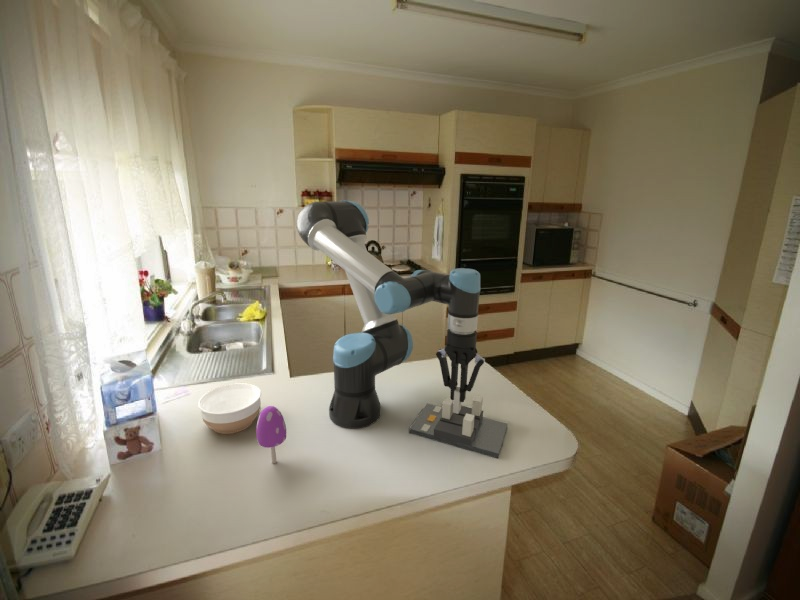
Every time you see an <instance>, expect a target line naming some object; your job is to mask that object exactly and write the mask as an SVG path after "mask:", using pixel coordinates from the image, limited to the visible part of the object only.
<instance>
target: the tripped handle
mask: <svg viewBox="0 0 800 600" xmlns="http://www.w3.org/2000/svg"><path fill="white" fill-rule="evenodd" d="M453 404H454V400H451V399H450V397H449V398H447V397H445V399H444V400H443V401H442V406H441V407H442V418H445V419H449V420H450V418H451V416H452V414H453Z"/></svg>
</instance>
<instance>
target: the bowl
mask: <svg viewBox="0 0 800 600" xmlns="http://www.w3.org/2000/svg"><path fill="white" fill-rule="evenodd" d="M261 396H262V391H261V389H260V388H259V387H258V386H256V385H254V384H251V383H245V382H244V383H243V382H241V383H240V382H237V383H230V384H225V385H221V386H218V387H215V388H213V389H211V390H209V391H207V392H206V393H204V394H203V395H202V396H201V397H200V399H199V400H198V403H197V406H198V409H199V410H200V417H201V418H202V420H203V421H202V422H204V424H205V425H206V426H207V427H209V428H210V429H212V430H213V431H214V432H215V433H218V434H222V435H223V434H224V435H226V434H227V435H228V434H234V433H238V432H239V433H240V432H241V431H243V430H245V429H248V428H249V427H250V426H251V425H252V424H253V422H254V420H255V419H256V418H257V416H258V414H259V412H260V411H261V404H262V401H261Z"/></svg>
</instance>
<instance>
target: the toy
mask: <svg viewBox="0 0 800 600" xmlns="http://www.w3.org/2000/svg"><path fill="white" fill-rule="evenodd" d="M255 429H256V432H255V433H256V440H257V441H256V442H257V443H258V445H259V446H261V447H263V448H267V449H269V448H270V455H271V458H270V459H271V464H277V462H278V461H277V454H276V453H277V452H276V447H277V446H279V445H281V444H282V443H284V441H286V439H287V426H286V422H285V418H284V416H283V414H282V412H281V411H280V410H279V409H278V408H277V407H275V406H273V405H269V406H266V407H264V408H263V409H262V410H261V412H260V414H259V416H258V418H257V423H256V428H255Z"/></svg>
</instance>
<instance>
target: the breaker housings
mask: <svg viewBox="0 0 800 600" xmlns="http://www.w3.org/2000/svg"><path fill="white" fill-rule="evenodd" d="M483 399H484V397H483V396H480V395H476V394H475V395H474V397H473V399H472V404H471V407H470V406H464V405H461V410H460V412H459V414H456V413H453V414H452V416H451V418H450V420H449V419H445V418H442V416H441V418H440V421H438V423H437V425H436V426H435V428H434V436H437V437H441V438H444V439H448V440H451V441H455V442H458V443H462V444H465V445H469V446H471V444H472V442H473V440H474V437H475V435H476V432H477V430H478V428H479V425H480V423H481V420H482V418H483V417H484V410H482V409H483V402H484V401H483Z"/></svg>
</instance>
